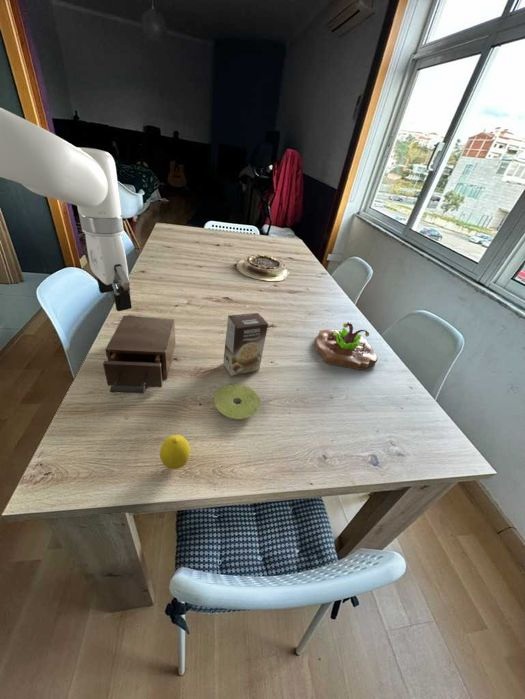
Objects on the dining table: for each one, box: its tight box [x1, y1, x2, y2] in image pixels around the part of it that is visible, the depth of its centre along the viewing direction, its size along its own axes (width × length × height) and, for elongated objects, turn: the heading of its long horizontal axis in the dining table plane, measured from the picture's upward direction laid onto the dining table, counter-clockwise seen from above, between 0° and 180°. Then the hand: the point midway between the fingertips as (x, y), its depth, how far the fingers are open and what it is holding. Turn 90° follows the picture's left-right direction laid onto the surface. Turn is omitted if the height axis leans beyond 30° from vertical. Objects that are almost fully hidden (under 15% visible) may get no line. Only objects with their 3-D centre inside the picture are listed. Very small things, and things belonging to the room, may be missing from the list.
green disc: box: [213, 384, 261, 420], centre depth 72 cm, size 11×11×2 cm
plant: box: [314, 321, 378, 371], centre depth 96 cm, size 20×20×11 cm
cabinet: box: [104, 315, 176, 380], centre depth 79 cm, size 16×14×9 cm
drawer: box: [102, 353, 164, 394], centre depth 73 cm, size 20×13×7 cm, turn 6°
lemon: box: [159, 434, 191, 470], centre depth 56 cm, size 6×6×8 cm
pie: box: [236, 253, 292, 282], centre depth 147 cm, size 28×27×5 cm
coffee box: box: [222, 312, 269, 377], centre depth 80 cm, size 9×6×16 cm
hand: (115, 300), depth 68 cm, fingers open, 9 cm apart
